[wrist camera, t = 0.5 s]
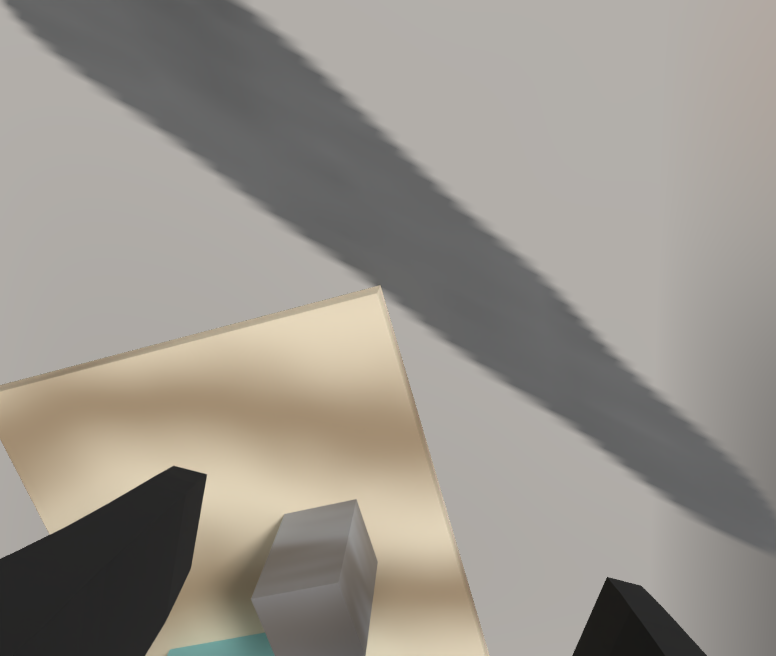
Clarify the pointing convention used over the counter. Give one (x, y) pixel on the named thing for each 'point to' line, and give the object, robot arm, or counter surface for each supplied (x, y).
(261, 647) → the teal foam cube
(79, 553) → the robot arm
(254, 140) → the counter surface
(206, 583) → the board
